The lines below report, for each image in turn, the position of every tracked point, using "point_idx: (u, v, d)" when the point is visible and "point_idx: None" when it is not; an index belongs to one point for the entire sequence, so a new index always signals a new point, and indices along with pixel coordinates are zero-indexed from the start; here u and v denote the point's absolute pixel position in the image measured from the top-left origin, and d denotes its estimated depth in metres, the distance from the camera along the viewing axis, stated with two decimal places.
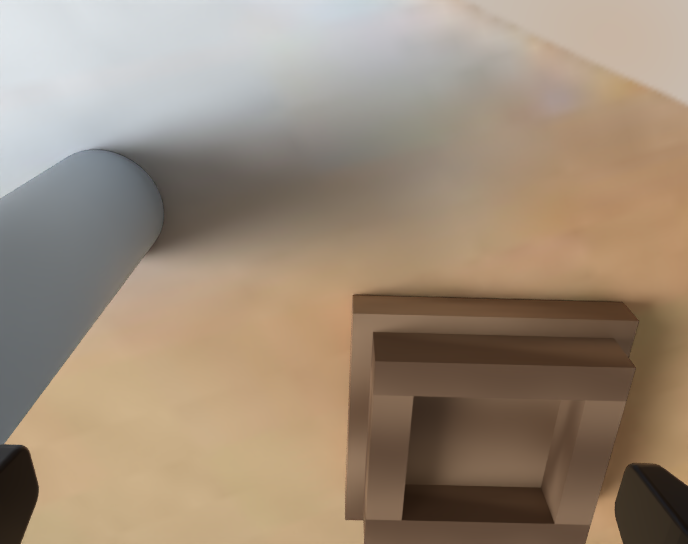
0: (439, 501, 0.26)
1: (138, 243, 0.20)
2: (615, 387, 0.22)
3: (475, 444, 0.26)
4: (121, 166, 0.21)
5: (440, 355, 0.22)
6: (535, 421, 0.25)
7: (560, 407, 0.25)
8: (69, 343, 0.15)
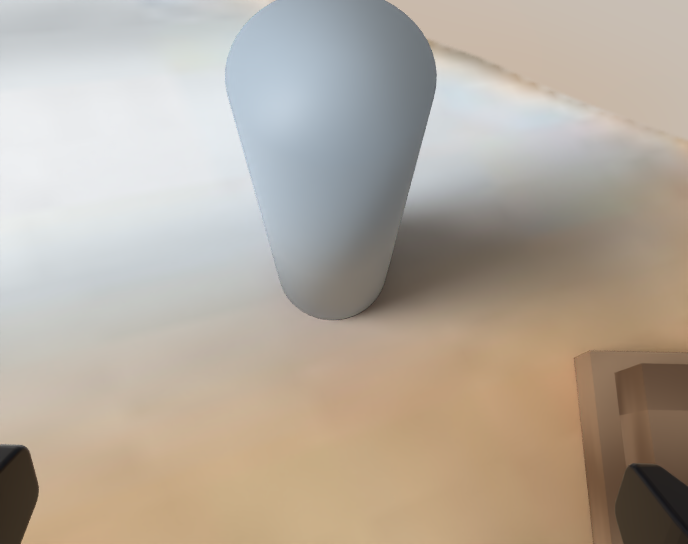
0: None
1: None
2: None
3: None
4: None
5: None
6: None
7: None
8: (410, 184, 0.16)
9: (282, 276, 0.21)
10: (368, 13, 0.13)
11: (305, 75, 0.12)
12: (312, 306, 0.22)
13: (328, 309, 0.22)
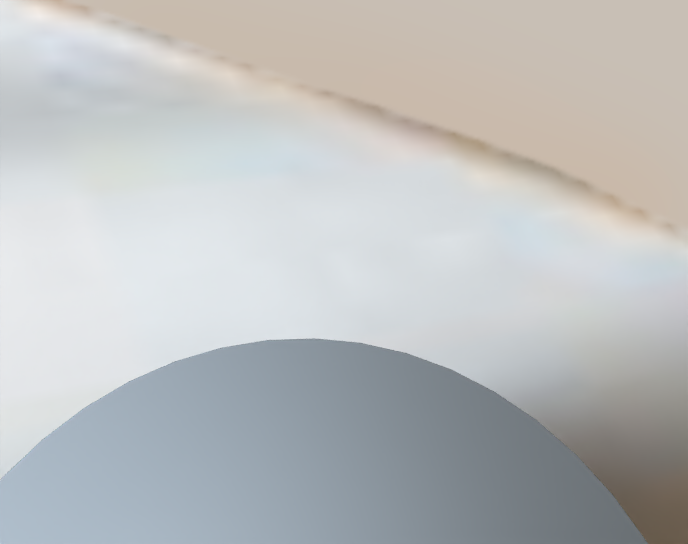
0: None
1: None
2: None
3: None
4: None
5: None
6: None
7: None
8: None
9: None
10: (441, 456, 0.03)
11: None
12: None
13: None
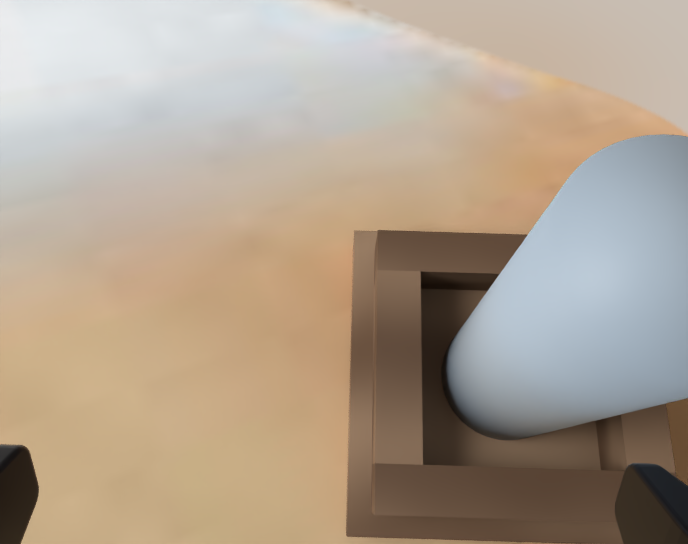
0: None
1: None
2: None
3: None
4: None
5: None
6: None
7: None
8: None
9: (470, 405, 0.18)
10: None
11: (654, 257, 0.10)
12: (497, 433, 0.19)
13: (516, 437, 0.19)
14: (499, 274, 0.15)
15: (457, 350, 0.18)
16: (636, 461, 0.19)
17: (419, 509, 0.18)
